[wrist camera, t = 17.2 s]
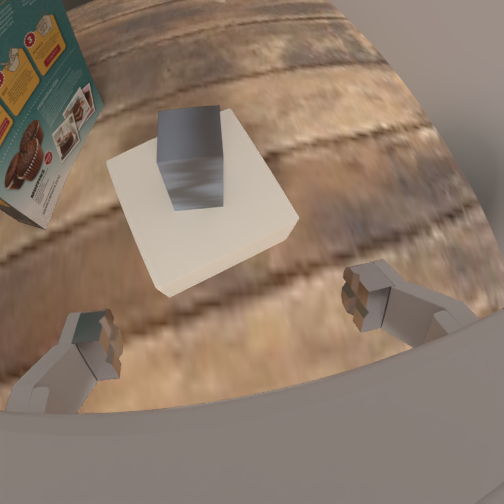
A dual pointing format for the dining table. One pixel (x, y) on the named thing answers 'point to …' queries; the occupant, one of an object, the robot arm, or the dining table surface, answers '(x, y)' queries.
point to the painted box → (202, 212)
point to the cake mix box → (40, 107)
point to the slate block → (191, 156)
